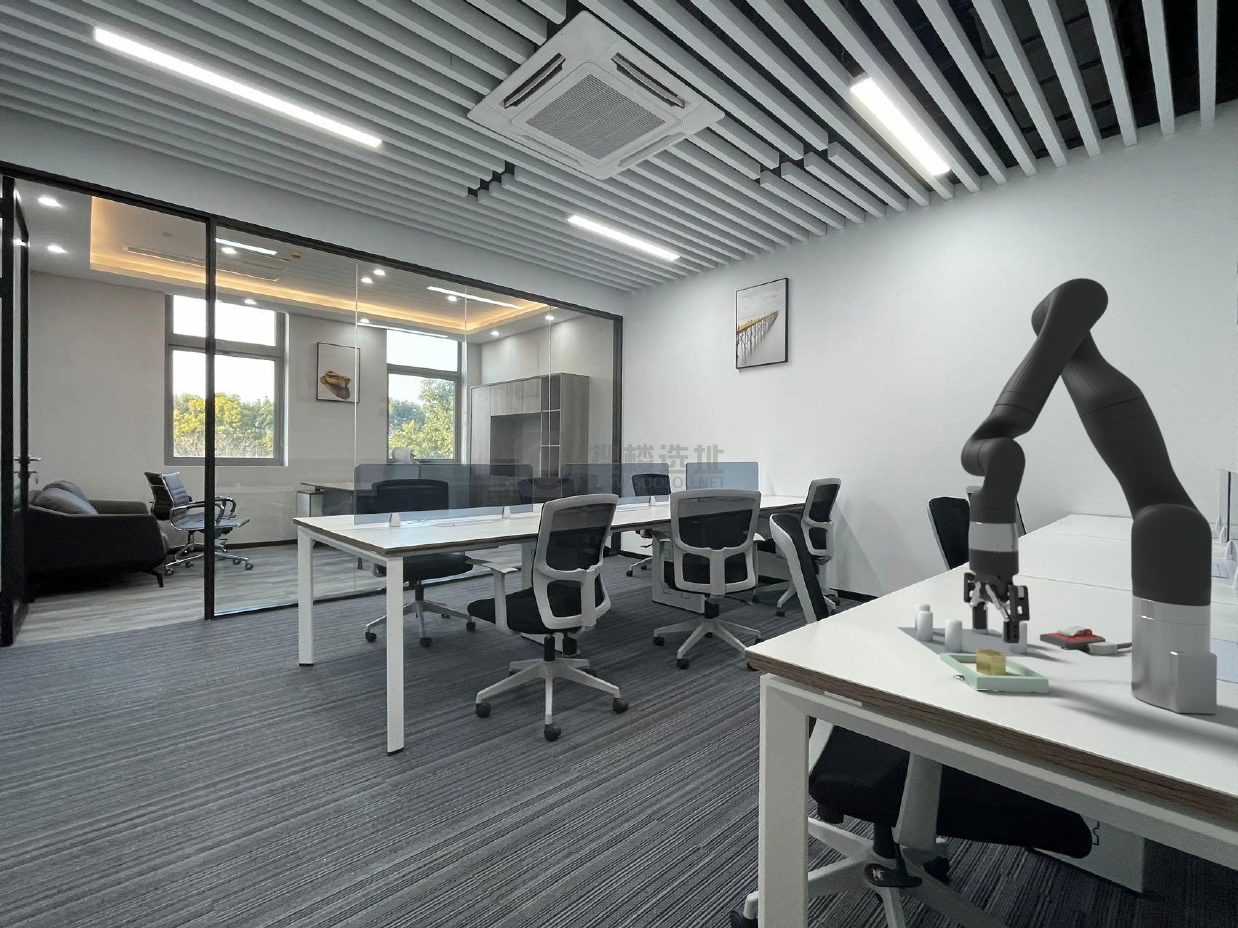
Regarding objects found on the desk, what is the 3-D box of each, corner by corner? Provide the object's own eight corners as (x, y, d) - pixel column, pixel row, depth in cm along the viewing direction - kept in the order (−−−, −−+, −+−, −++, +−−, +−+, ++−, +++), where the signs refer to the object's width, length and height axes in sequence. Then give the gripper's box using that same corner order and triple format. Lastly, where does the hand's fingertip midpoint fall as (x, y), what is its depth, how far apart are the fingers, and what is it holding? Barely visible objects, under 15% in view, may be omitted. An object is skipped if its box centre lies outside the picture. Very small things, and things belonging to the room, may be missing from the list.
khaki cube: (1012, 679, 97) (1013, 657, 97) (983, 678, 98) (983, 656, 98) (997, 670, 102) (997, 648, 102) (969, 669, 102) (969, 647, 102)
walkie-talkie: (1076, 660, 110) (1143, 651, 116) (1076, 639, 110) (1143, 631, 116) (1032, 647, 118) (1096, 639, 124) (1032, 626, 118) (1096, 620, 124)
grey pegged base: (1050, 663, 108) (1050, 627, 108) (937, 659, 109) (937, 624, 109) (993, 634, 126) (993, 603, 126) (896, 632, 127) (897, 601, 127)
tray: (1048, 693, 93) (1048, 679, 93) (976, 690, 94) (976, 677, 94) (1003, 667, 105) (1003, 654, 105) (940, 665, 106) (940, 653, 106)
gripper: (1043, 552, 92) (1045, 648, 91) (987, 541, 106) (989, 624, 106) (999, 552, 92) (1000, 648, 91) (949, 542, 106) (950, 624, 106)
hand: (994, 635), depth 98 cm, fingers open, 8 cm apart
